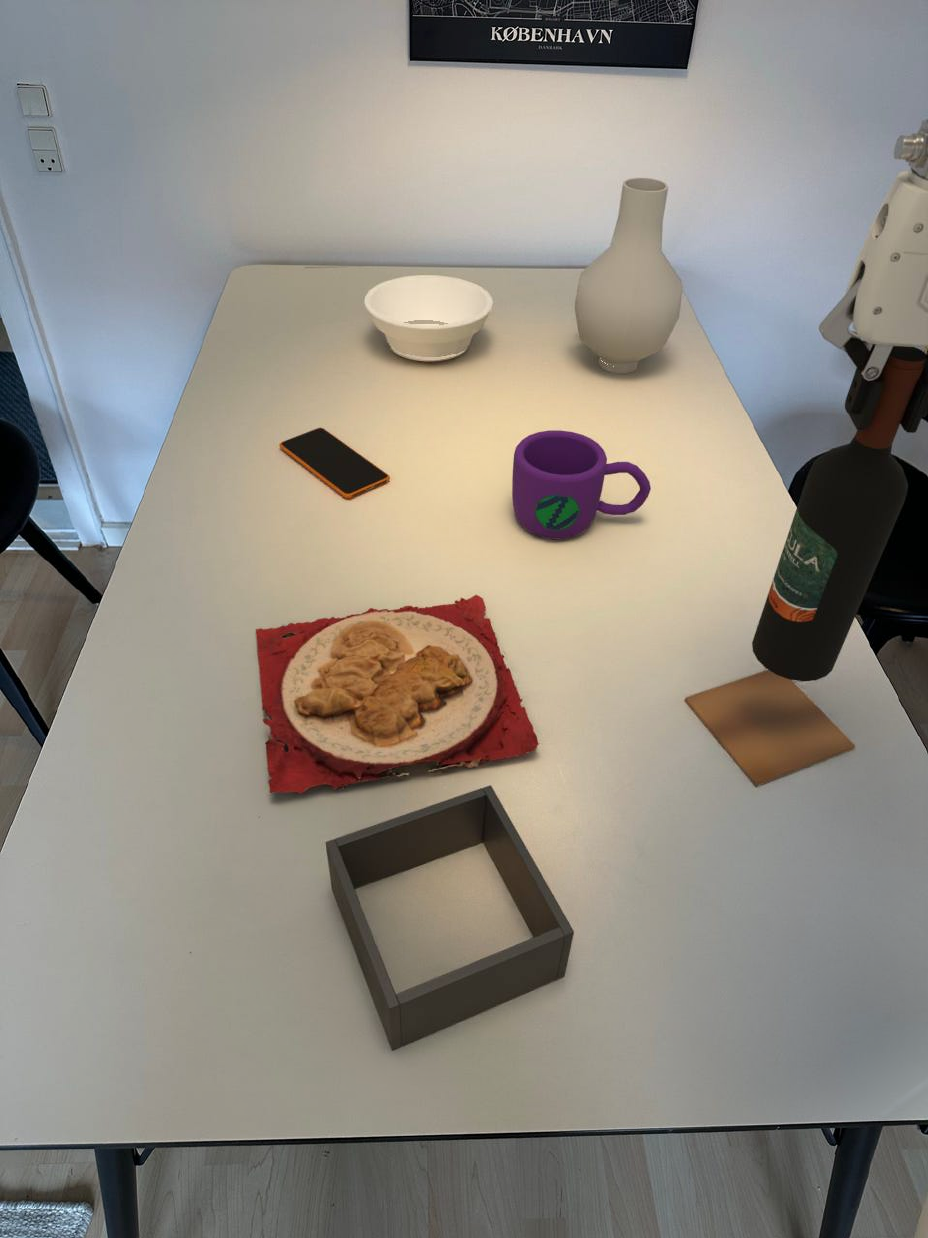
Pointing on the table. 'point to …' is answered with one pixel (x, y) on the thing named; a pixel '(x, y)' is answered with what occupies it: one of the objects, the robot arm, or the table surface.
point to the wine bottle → (837, 537)
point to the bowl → (428, 313)
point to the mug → (565, 483)
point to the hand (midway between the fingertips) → (880, 420)
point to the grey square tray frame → (477, 982)
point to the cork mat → (768, 726)
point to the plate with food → (387, 695)
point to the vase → (630, 284)
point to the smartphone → (334, 462)
